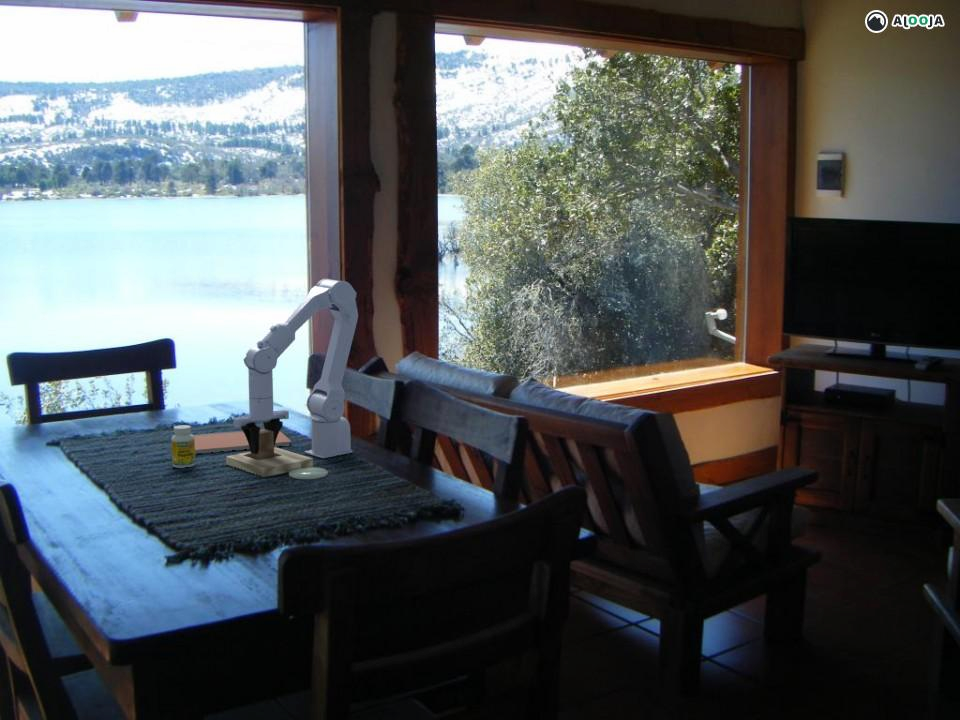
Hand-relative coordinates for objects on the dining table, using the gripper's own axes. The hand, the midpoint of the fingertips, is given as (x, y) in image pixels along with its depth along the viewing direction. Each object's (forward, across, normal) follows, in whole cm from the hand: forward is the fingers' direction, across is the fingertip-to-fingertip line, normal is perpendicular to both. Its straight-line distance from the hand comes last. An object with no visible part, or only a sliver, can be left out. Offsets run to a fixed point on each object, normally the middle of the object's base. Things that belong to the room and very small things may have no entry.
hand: (262, 451), depth 255 cm
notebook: (+4, -6, -23) cm, 24 cm away
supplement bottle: (+3, +15, -11) cm, 19 cm away
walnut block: (+3, 0, 0) cm, 3 cm away
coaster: (+3, -2, +16) cm, 16 cm away
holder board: (+3, 0, +3) cm, 4 cm away
